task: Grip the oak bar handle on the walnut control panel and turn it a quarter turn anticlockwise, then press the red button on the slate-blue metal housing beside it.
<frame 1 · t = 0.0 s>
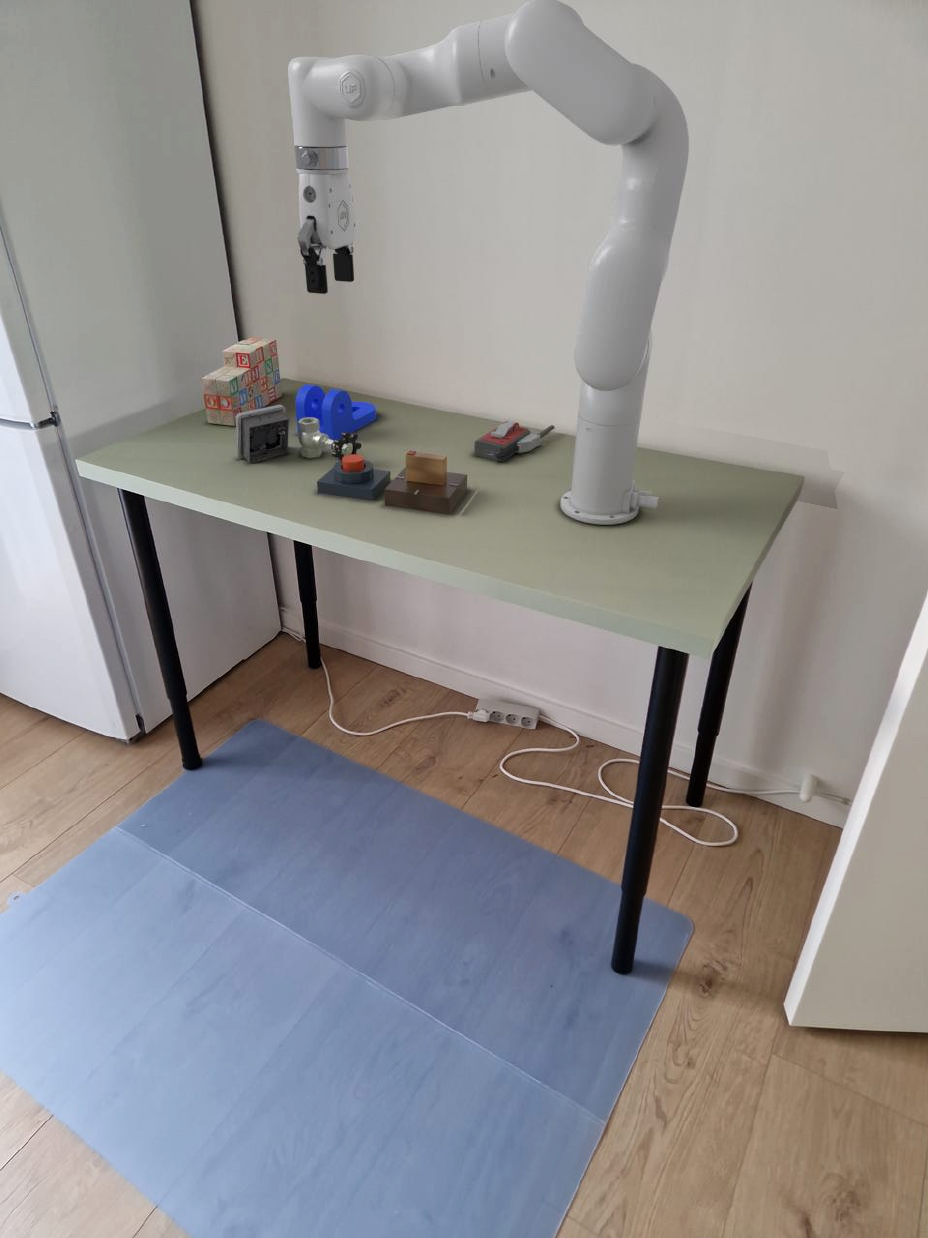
hand: (331, 286, 126), 31 cm above the table, tool pointing down, fingers open, 9 cm apart
handle panel: (426, 498, 135), on the table
stack of blocks: (247, 409, 172), on the table
oak handle: (426, 467, 132), point 5 cm above the table, hinge at 0.0°
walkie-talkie: (514, 446, 156), on the table
red button: (353, 463, 136), point 5 cm above the table, slide at 0.2 cm
bracket: (342, 425, 165), on the table
valve: (326, 460, 149), on the table
button box: (354, 488, 138), on the table
electrical switch: (267, 457, 150), on the table
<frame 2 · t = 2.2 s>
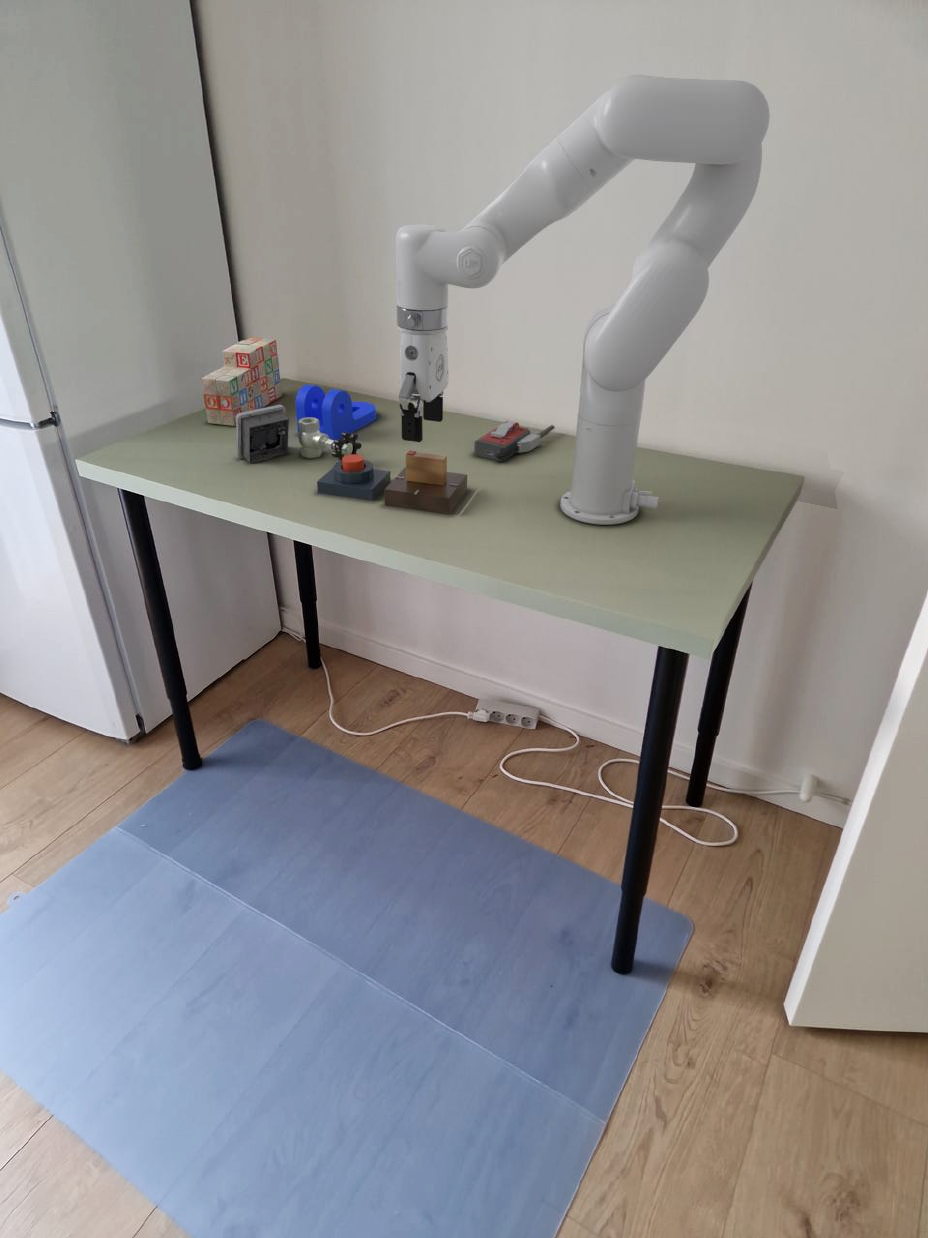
hand: (422, 430, 129), 12 cm above the table, tool pointing down, fingers open, 9 cm apart
nothing on the table moved.
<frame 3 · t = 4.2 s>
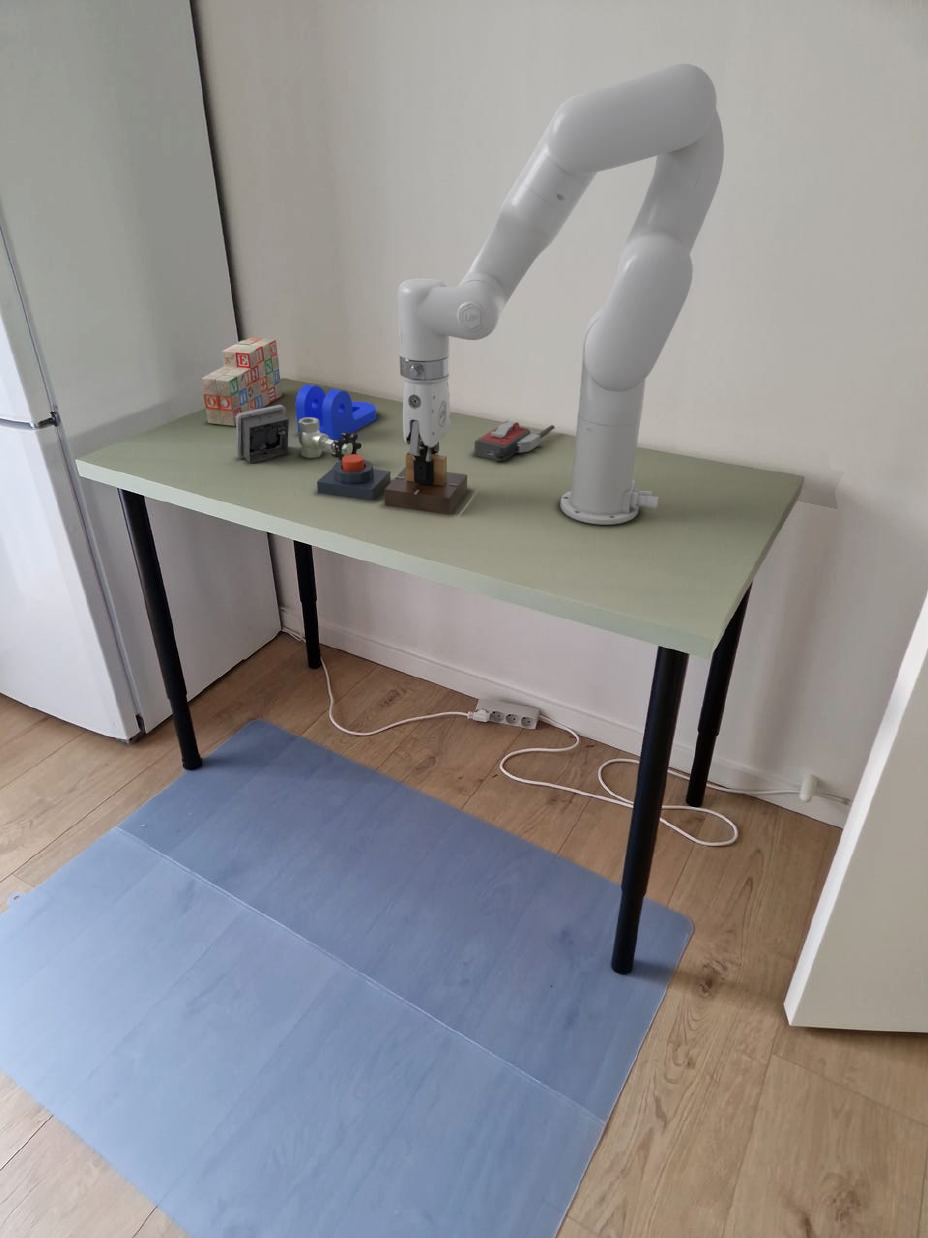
hand: (426, 479, 133), 3 cm above the table, tool pointing down, fingers closed on oak handle, 2 cm apart
oak handle: (426, 467, 132), point 5 cm above the table, hinge at 0.2°, touching gripper
everything else where it was.
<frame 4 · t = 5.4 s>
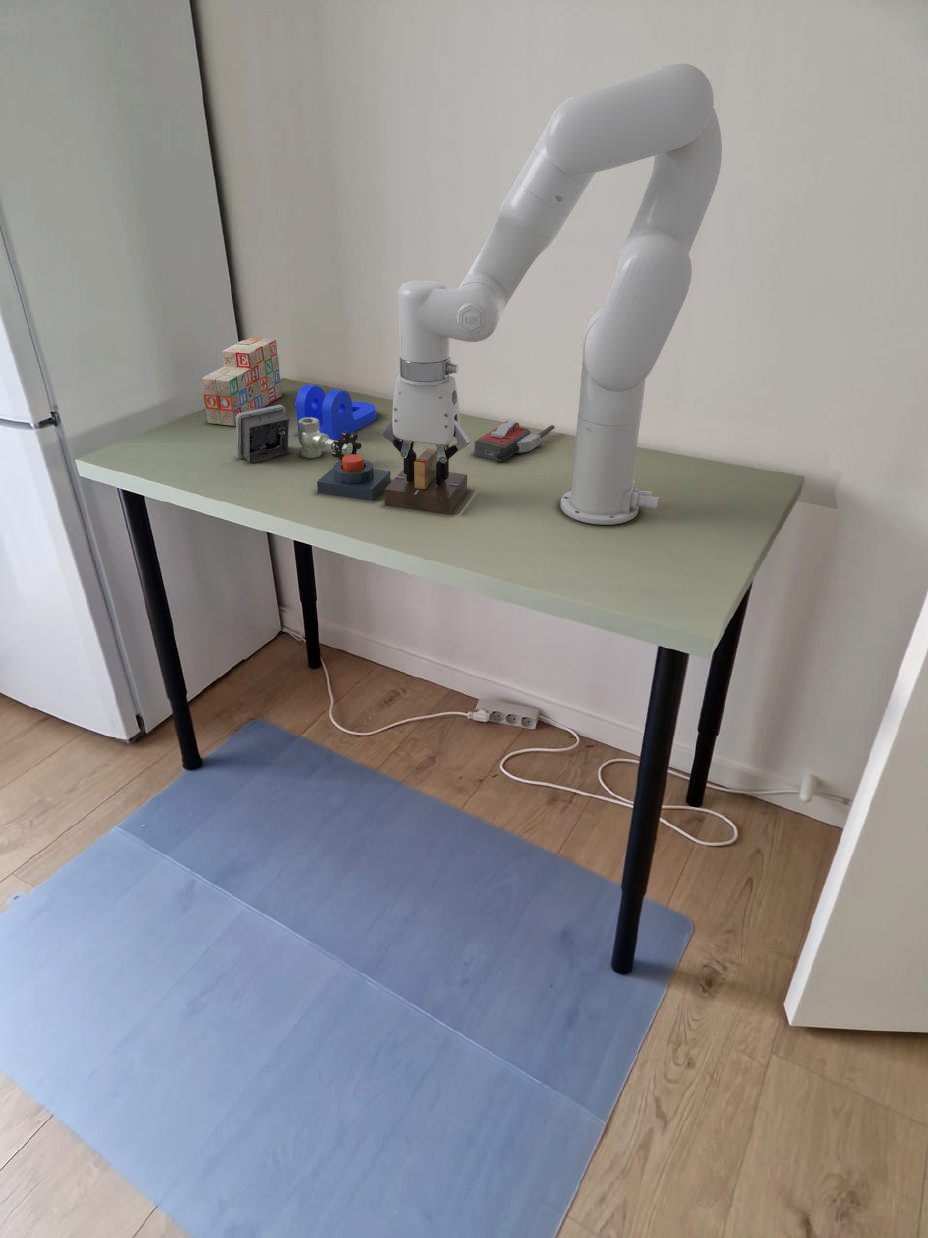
hand: (426, 479, 133), 3 cm above the table, tool pointing down, fingers open, 4 cm apart
oak handle: (426, 467, 132), point 5 cm above the table, hinge at 90.0°
everything else where it was.
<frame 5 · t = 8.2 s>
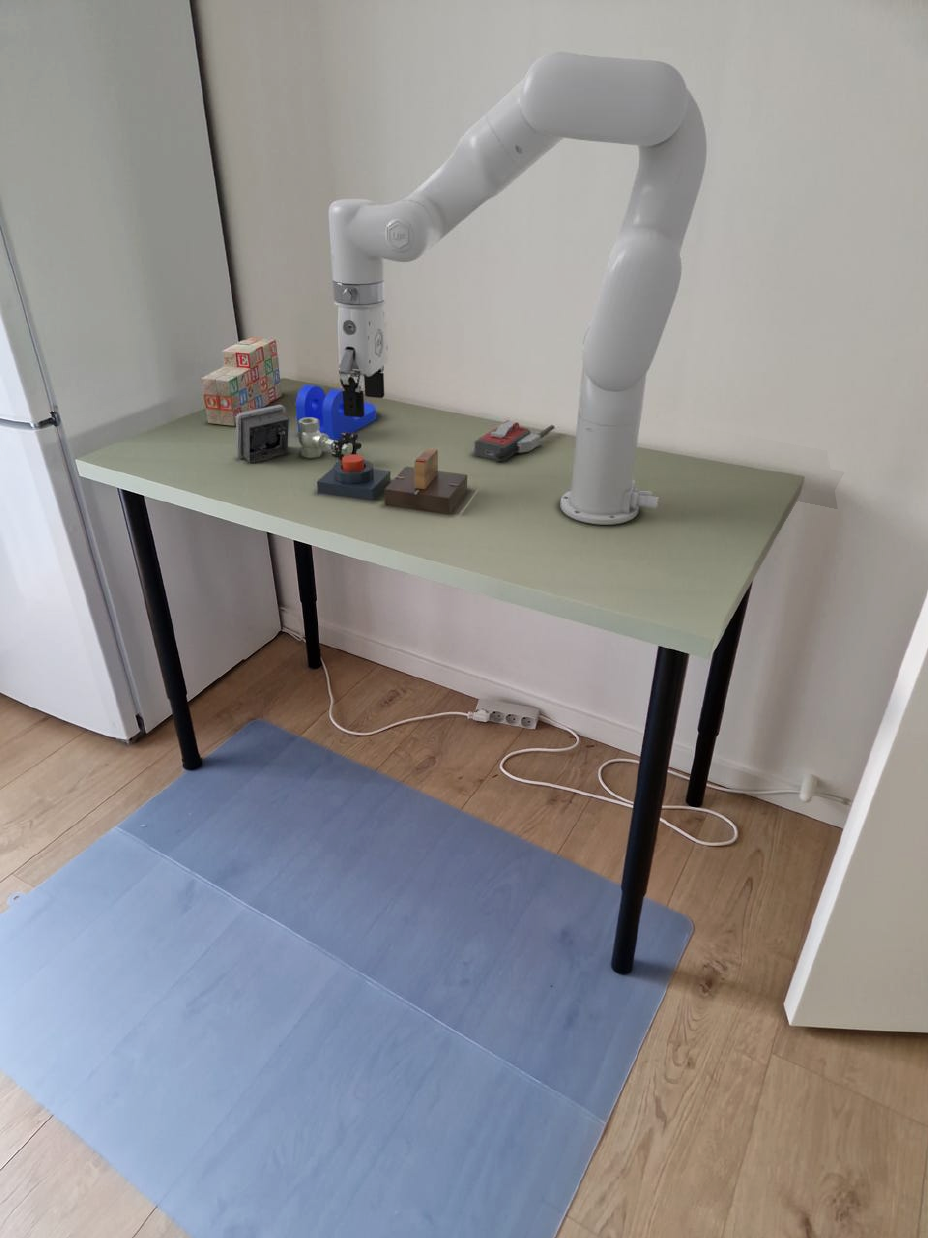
hand: (364, 406, 130), 15 cm above the table, tool pointing down, fingers open, 9 cm apart
nothing on the table moved.
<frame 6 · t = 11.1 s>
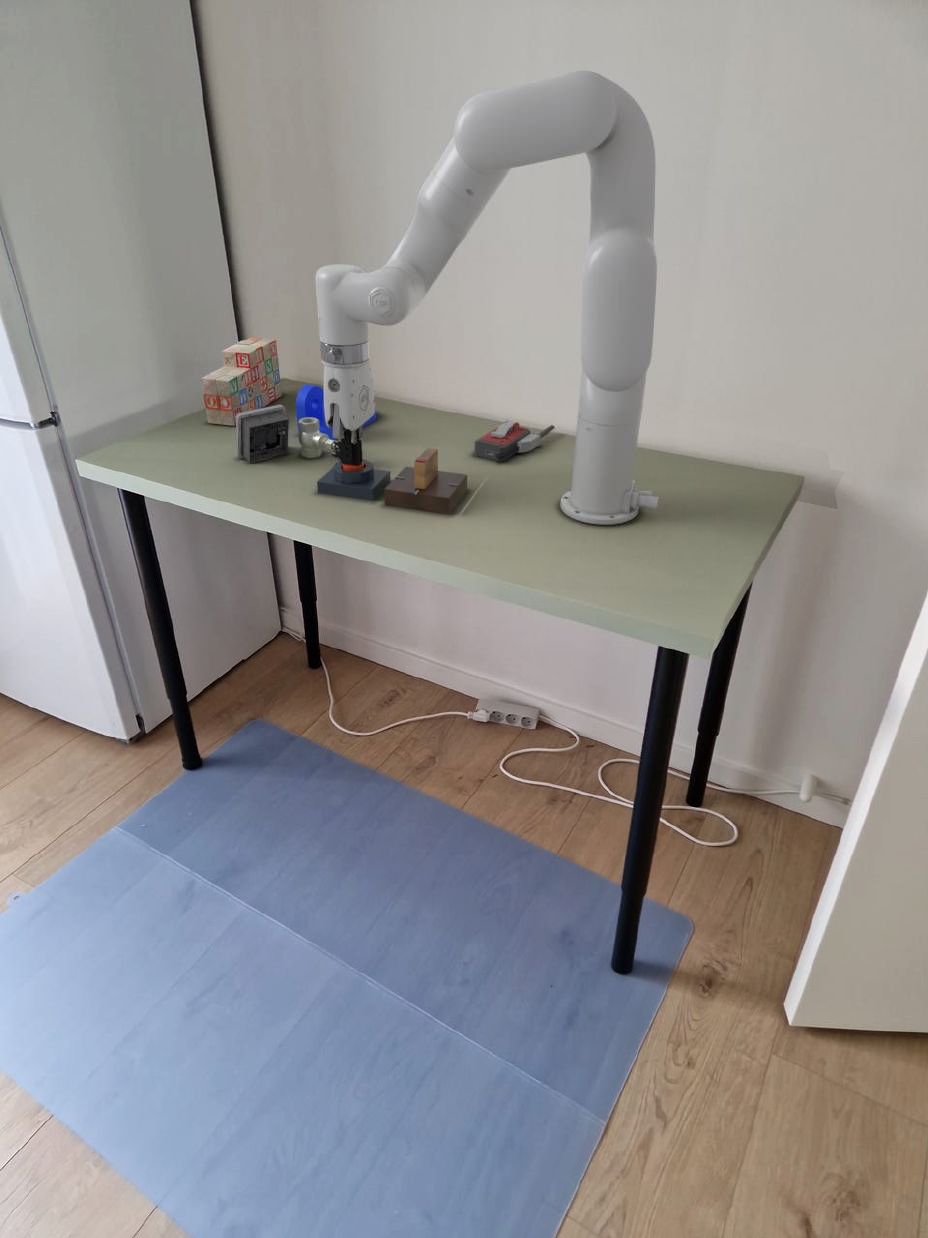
hand: (352, 462, 136), 5 cm above the table, tool pointing down, fingers closed
red button: (353, 468, 136), point 4 cm above the table, slide at -0.8 cm, touching gripper
everything else where it was.
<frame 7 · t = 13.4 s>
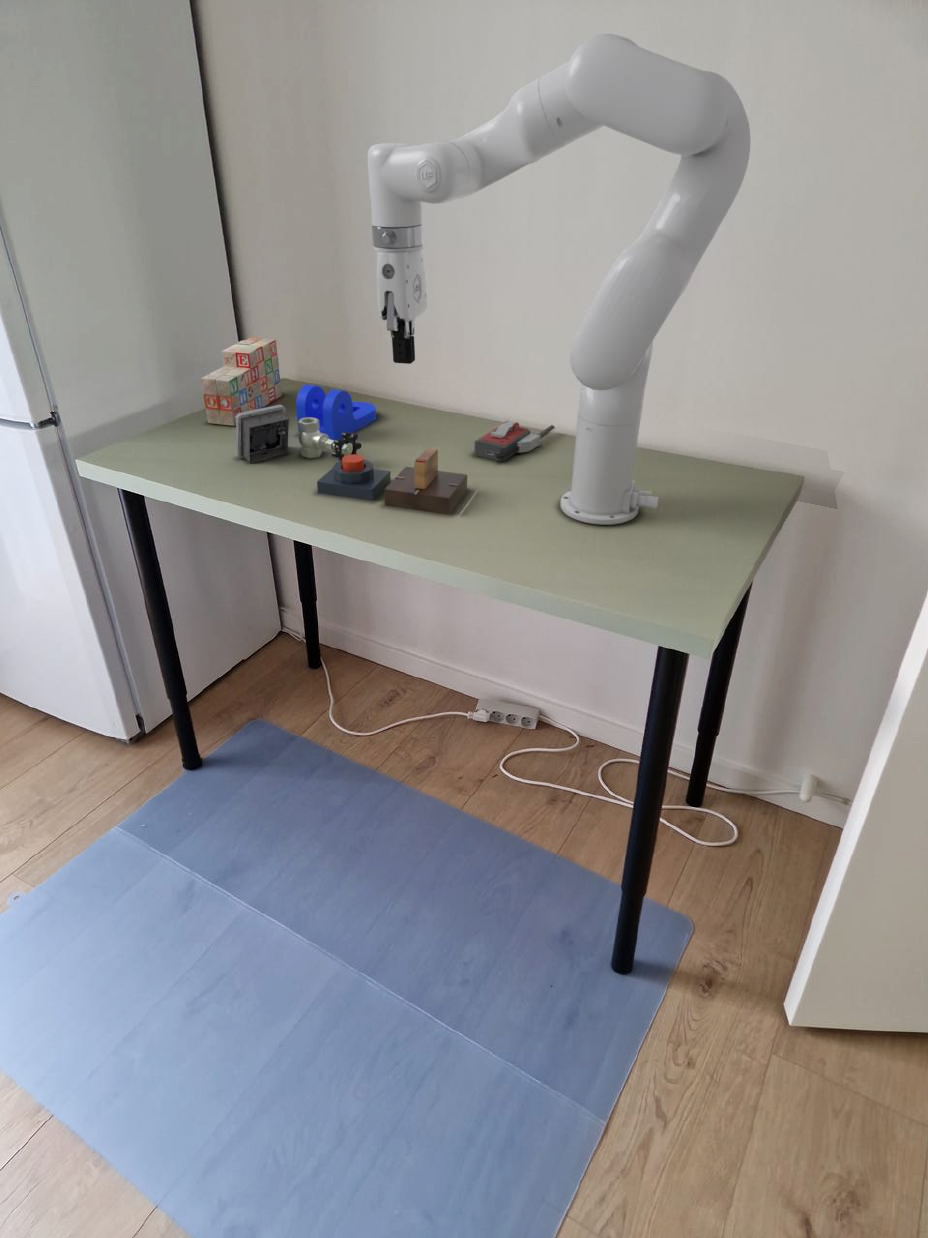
hand: (404, 361, 132), 20 cm above the table, tool pointing down, fingers closed
red button: (353, 463, 136), point 5 cm above the table, slide at 0.1 cm
everything else where it was.
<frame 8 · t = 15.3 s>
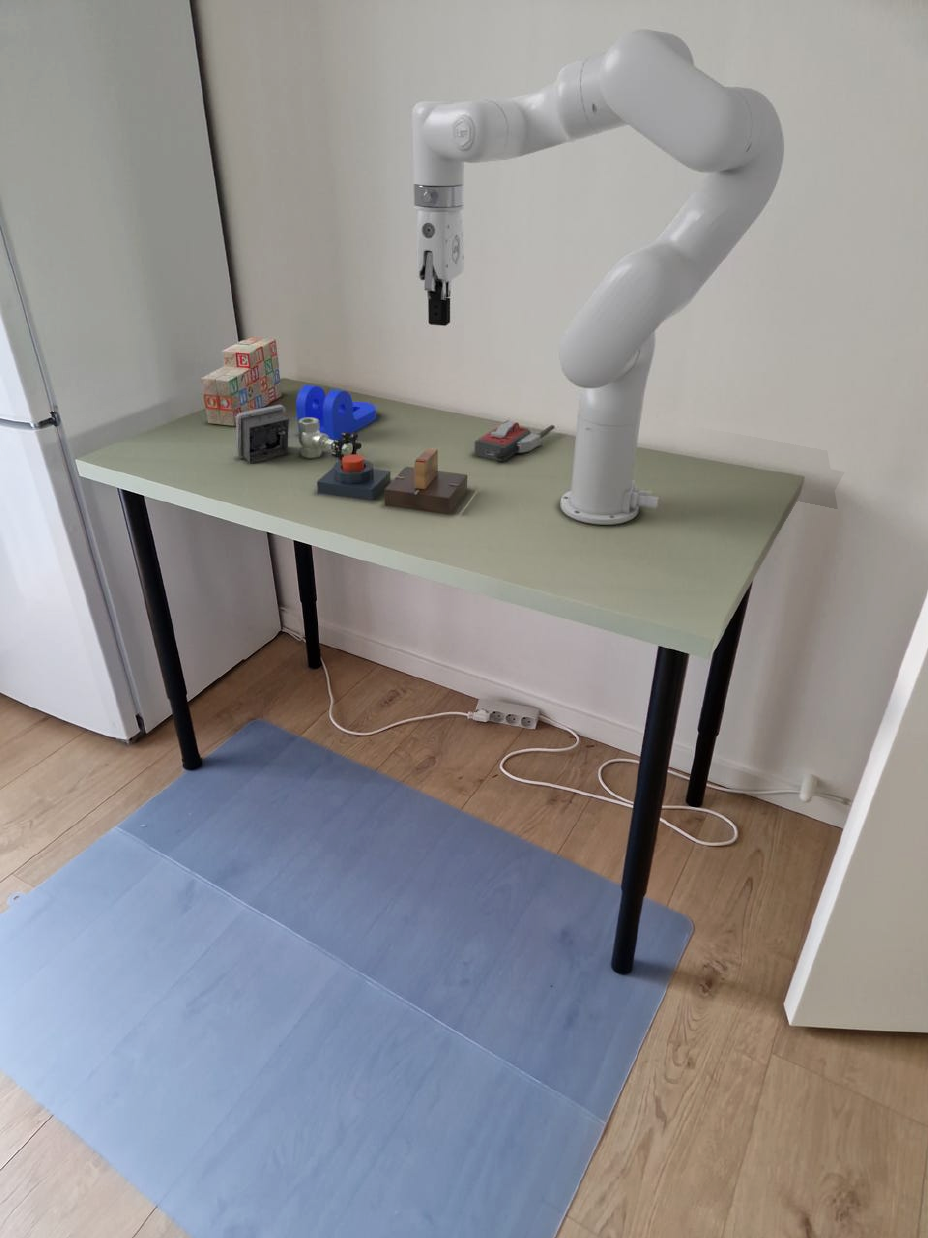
hand: (439, 323, 132), 25 cm above the table, tool pointing down, fingers closed
nothing on the table moved.
at the end: oak handle at +90° (first picture: +0°); red button pushed in 1.1 cm at the most during the clip, back to where it started at the end; red button slide at 0.1 cm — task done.
